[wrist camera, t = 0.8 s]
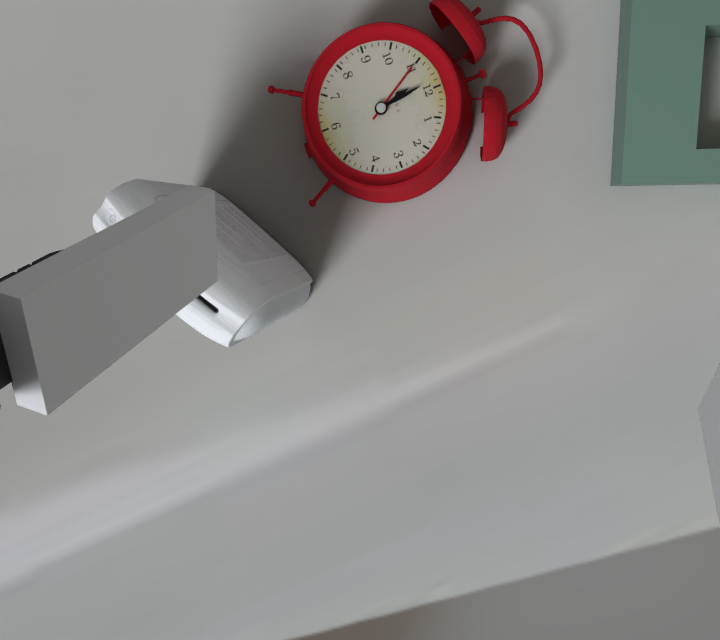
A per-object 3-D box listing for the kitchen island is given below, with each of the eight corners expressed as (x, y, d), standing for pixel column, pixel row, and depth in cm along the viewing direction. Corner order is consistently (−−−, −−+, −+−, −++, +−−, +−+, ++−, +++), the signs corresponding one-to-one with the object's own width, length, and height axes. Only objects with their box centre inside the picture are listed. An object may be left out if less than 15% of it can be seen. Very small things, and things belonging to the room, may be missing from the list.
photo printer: (171, 227, 42) (56, 232, 30) (208, 177, 41) (105, 161, 29) (285, 327, 42) (216, 373, 30) (325, 280, 41) (270, 307, 29)
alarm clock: (248, 64, 36) (495, -74, 30) (296, 77, 42) (512, -36, 35) (310, 233, 37) (562, 134, 31) (349, 224, 43) (568, 138, 36)
